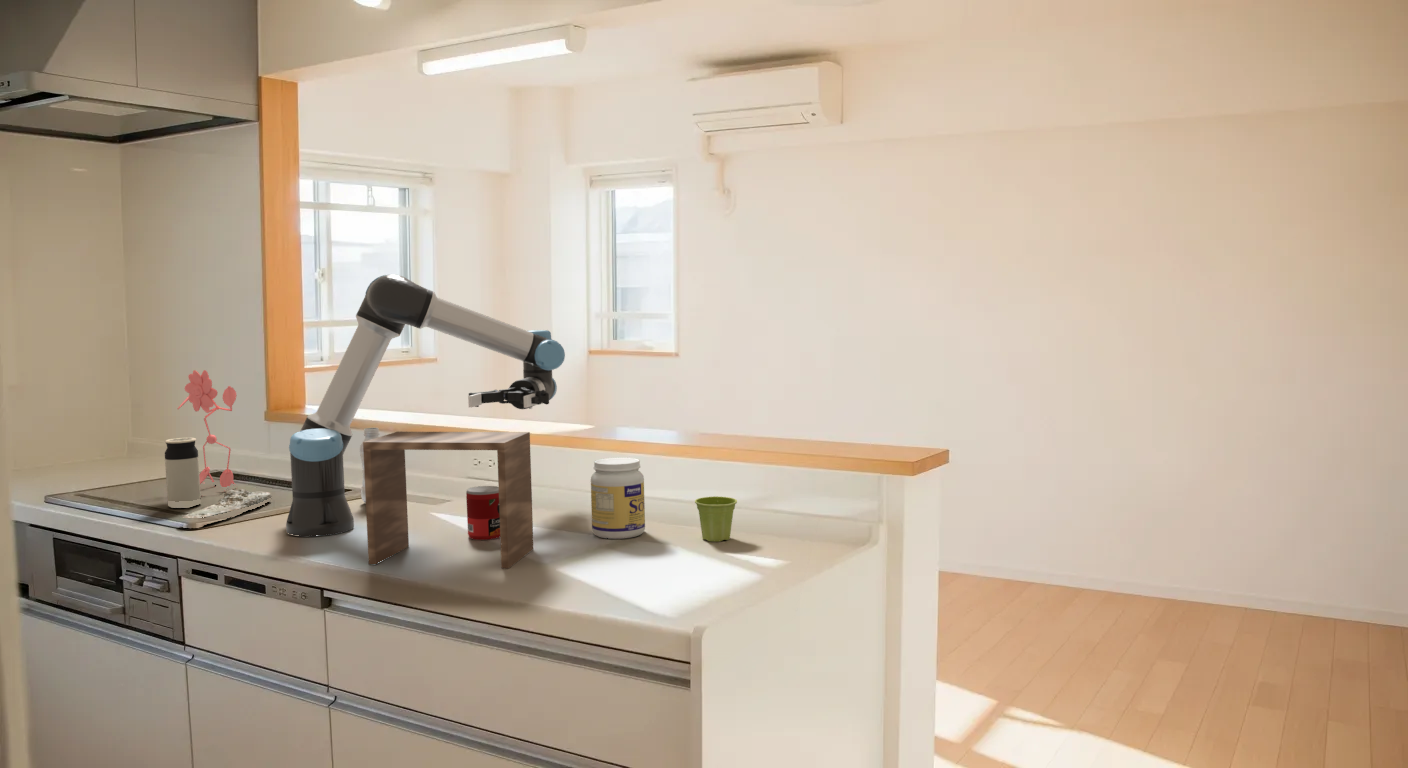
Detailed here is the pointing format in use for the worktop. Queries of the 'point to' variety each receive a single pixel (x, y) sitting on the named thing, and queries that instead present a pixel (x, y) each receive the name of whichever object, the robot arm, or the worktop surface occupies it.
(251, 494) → the elongated rock
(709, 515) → the plant pot
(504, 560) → the shelf riser
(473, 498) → the canned food
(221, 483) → the pink flower figurine
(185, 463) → the travel mug
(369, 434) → the plastic bottle
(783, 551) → the worktop surface
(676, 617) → the worktop surface
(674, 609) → the worktop surface
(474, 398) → the robot arm
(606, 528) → the supplement tub
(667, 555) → the worktop surface
